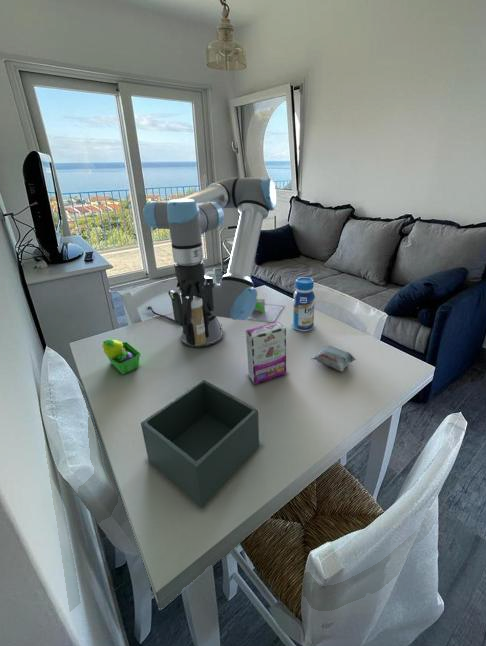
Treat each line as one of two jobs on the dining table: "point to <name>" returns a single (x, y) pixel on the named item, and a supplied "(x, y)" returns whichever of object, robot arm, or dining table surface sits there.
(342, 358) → the packaged food
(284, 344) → the candy bar box
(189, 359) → the dining table surface
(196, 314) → the sprinkles bottle
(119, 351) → the fruit basket
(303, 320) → the beverage bottle
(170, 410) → the grey storage bin
